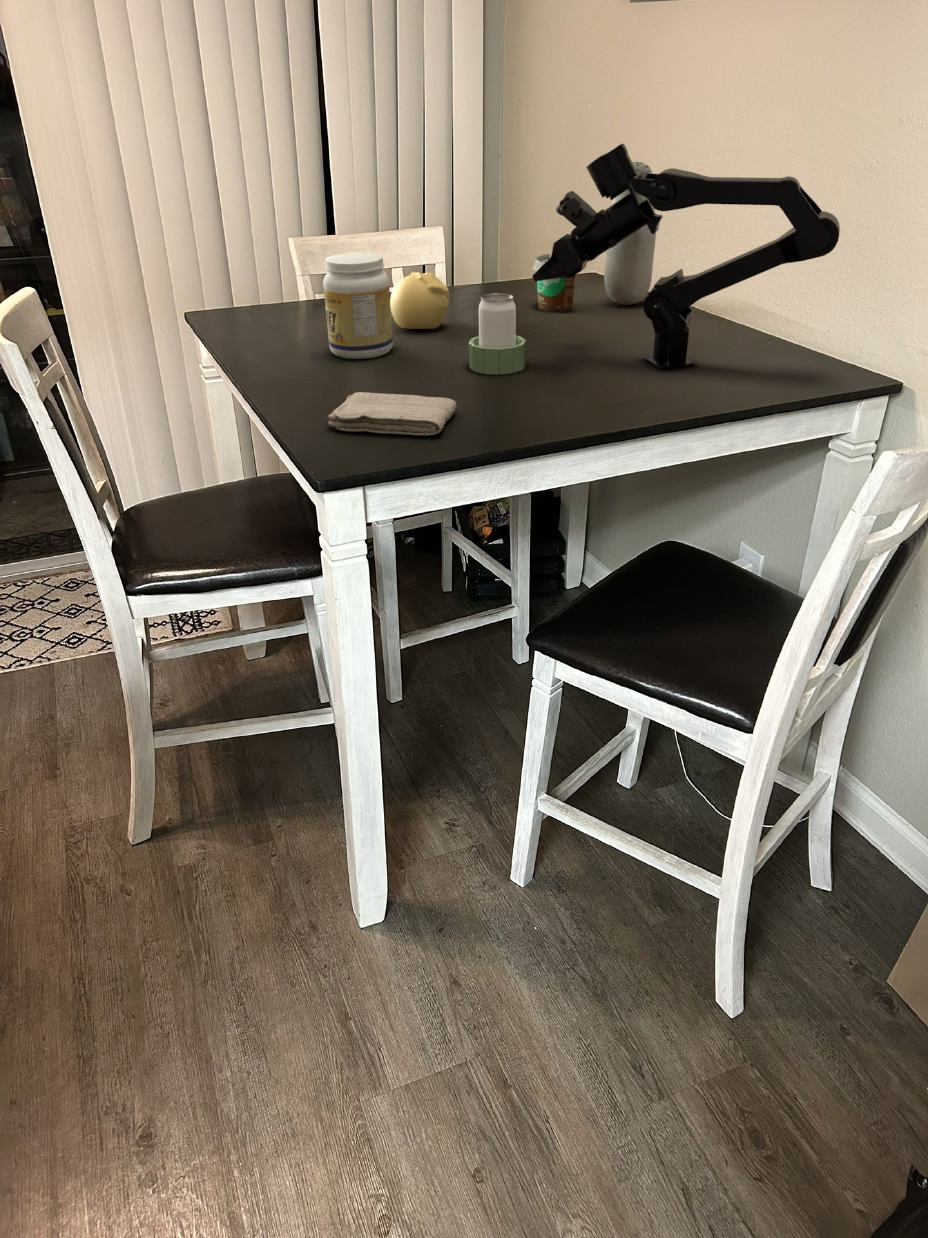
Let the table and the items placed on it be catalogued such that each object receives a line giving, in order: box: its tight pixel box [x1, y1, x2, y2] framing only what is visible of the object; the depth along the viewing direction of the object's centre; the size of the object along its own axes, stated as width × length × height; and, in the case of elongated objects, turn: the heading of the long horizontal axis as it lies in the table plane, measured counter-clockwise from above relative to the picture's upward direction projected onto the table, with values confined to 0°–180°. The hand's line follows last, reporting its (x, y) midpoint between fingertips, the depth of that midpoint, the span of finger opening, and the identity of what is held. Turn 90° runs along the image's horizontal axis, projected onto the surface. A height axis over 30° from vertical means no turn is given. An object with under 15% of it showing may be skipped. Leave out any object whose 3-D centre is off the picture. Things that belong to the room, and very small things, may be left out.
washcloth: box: [327, 391, 458, 436], centre depth 140 cm, size 12×18×3 cm, turn 77°
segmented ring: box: [468, 335, 527, 376], centre depth 163 cm, size 10×10×4 cm
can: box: [478, 292, 517, 348], centre depth 161 cm, size 6×6×12 cm
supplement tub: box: [322, 251, 394, 360], centre depth 170 cm, size 12×12×17 cm
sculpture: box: [390, 271, 450, 330], centre depth 186 cm, size 12×12×11 cm
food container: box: [533, 253, 576, 313], centre depth 197 cm, size 12×6×10 cm, turn 25°
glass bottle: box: [603, 161, 657, 306], centre depth 194 cm, size 10×10×28 cm
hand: (540, 273), depth 163 cm, fingers open, 9 cm apart
